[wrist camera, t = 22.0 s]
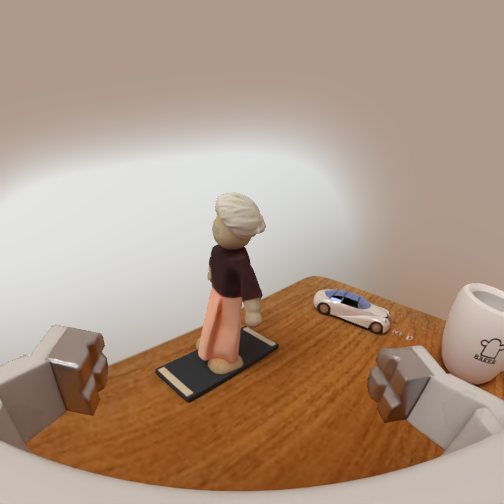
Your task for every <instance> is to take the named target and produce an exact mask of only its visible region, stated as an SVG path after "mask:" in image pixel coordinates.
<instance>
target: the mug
mask: <svg viewBox="0 0 504 504" xmlns="http://www.w3.org/2000/svg"><path fill="white" fill-rule="evenodd" d="M441 354H442V358H443V362H444V365H445V367H446V368H447V370H448V371H449V372H450V373H451V374H452V375H454V376H456V377H458V378H460V379H462V380H464V381H466V382H468V383H470V384H482V383H485V382H488V381H490V380H491V379H493V378H494V377H495V376H497V375H498V374H499V373H500V372H501V371H503V372H504V292H503V291H501V290H499V289H496V288H494V287H491V286H488V285H484V284H476V283H475V284H467V285H465V286H464V287H463V289H462V290H461V291H460V292H459V294H458V295H457V297H456V299H455V301H454V303H453V306H452V308H451V311H450V313H449V316H448V319H447V322H446V325H445V329H444V333H443V339H442V353H441Z"/></svg>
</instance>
